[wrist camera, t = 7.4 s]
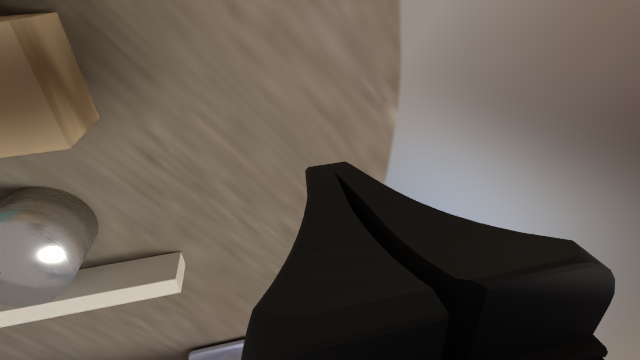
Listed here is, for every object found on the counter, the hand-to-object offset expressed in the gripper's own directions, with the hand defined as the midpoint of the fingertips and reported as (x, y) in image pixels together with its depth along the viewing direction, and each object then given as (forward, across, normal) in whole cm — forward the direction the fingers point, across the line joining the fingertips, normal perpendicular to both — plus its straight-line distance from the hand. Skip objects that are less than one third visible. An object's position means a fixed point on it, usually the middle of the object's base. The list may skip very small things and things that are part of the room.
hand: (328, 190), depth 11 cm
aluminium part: (+10, +15, +6) cm, 19 cm away
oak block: (+10, +12, -3) cm, 16 cm away
